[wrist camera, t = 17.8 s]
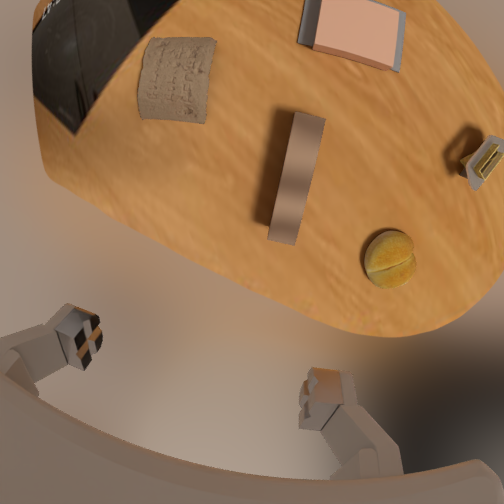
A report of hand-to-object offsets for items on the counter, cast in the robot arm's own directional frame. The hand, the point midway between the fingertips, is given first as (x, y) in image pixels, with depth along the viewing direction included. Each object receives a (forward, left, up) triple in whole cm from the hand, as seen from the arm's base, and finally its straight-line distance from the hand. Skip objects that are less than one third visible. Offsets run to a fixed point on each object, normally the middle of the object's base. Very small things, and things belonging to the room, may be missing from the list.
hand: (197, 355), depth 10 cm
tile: (-19, +8, -29) cm, 36 cm away
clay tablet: (-13, -14, -32) cm, 37 cm away
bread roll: (+7, +21, -32) cm, 38 cm away
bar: (-2, +4, -31) cm, 32 cm away
